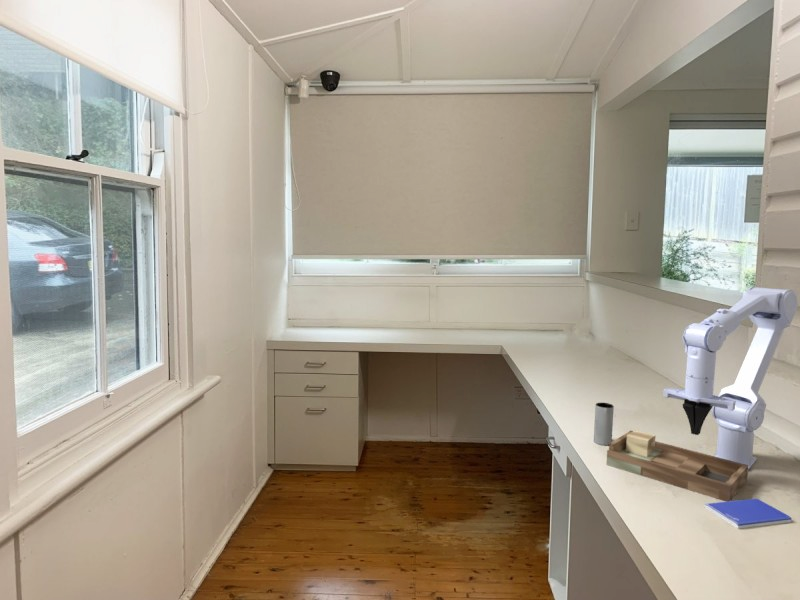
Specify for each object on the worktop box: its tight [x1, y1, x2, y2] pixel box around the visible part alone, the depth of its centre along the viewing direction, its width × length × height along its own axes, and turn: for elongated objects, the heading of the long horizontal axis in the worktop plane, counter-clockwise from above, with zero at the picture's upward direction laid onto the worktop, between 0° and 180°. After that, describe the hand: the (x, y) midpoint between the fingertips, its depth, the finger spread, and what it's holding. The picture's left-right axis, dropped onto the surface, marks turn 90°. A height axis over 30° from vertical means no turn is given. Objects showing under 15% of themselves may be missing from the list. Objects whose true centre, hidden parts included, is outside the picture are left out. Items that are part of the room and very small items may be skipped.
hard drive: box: [704, 498, 793, 530], centre depth 106 cm, size 2×8×12 cm
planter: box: [593, 402, 615, 446], centre depth 143 cm, size 4×4×10 cm
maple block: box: [626, 430, 656, 457], centre depth 133 cm, size 5×5×4 cm
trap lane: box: [605, 430, 749, 502], centre depth 125 cm, size 15×26×5 cm, turn 45°
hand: (695, 433), depth 125 cm, fingers closed
